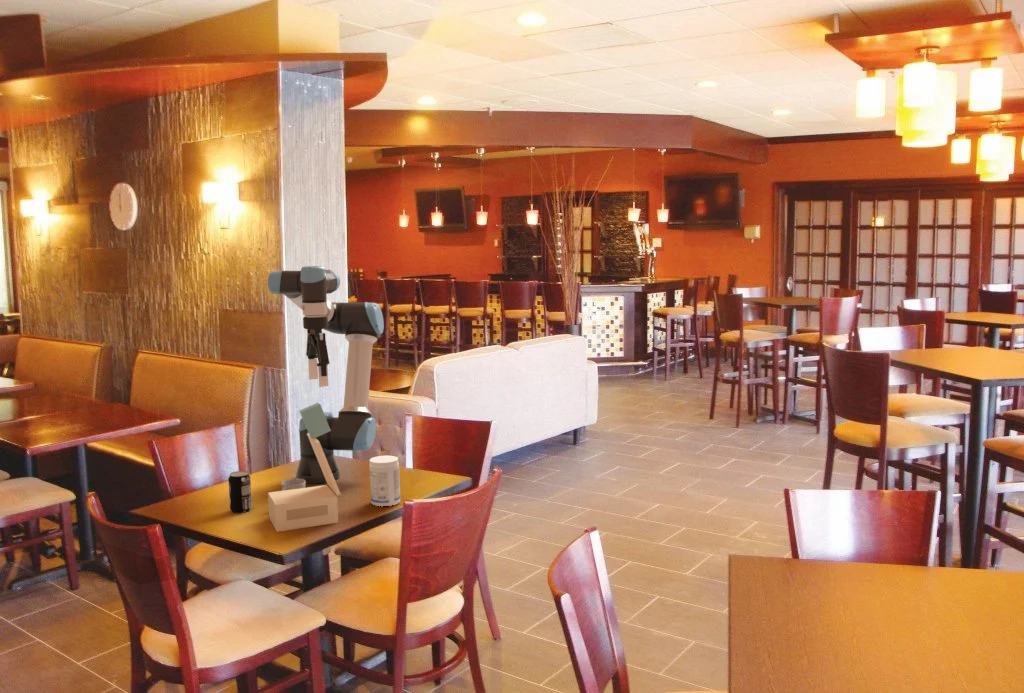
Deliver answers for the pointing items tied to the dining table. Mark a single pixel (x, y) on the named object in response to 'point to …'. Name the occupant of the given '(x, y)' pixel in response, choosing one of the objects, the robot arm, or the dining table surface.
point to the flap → (317, 427)
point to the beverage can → (240, 492)
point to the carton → (302, 508)
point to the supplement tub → (384, 480)
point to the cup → (292, 484)
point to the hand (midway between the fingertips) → (318, 382)
